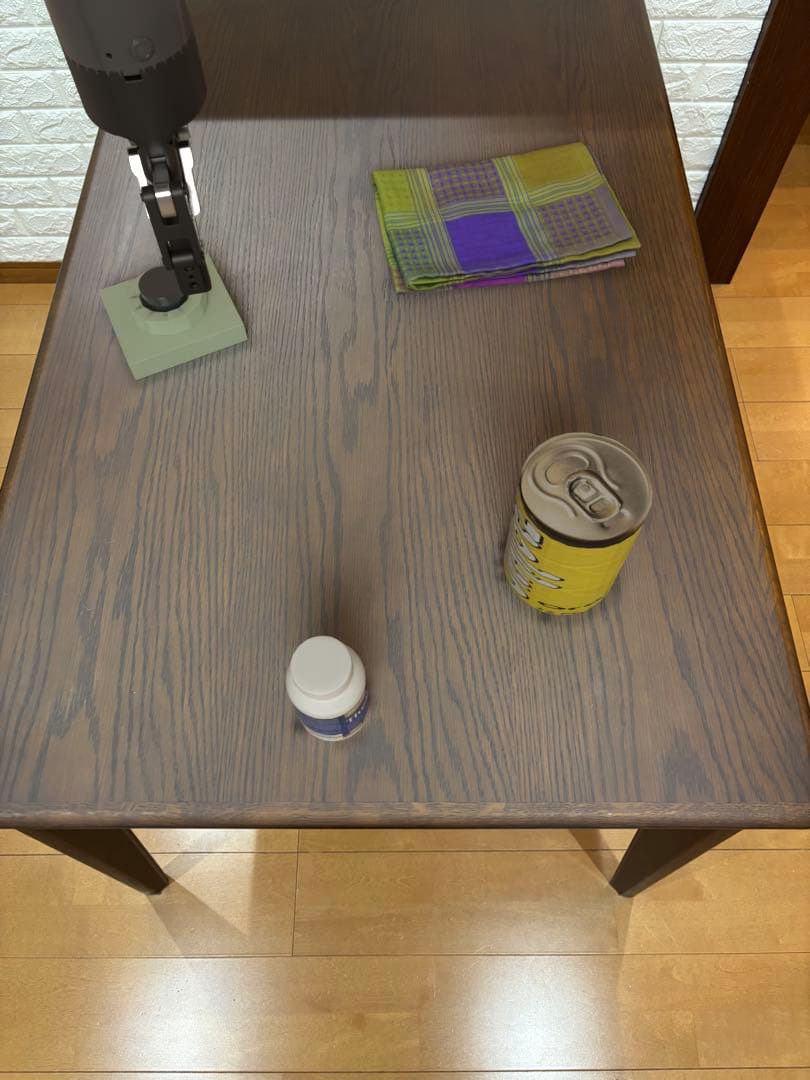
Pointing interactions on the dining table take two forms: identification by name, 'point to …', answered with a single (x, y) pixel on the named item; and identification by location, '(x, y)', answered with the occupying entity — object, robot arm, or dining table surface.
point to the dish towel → (500, 221)
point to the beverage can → (574, 521)
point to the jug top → (172, 325)
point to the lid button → (161, 289)
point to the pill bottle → (328, 688)
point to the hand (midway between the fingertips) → (191, 248)
